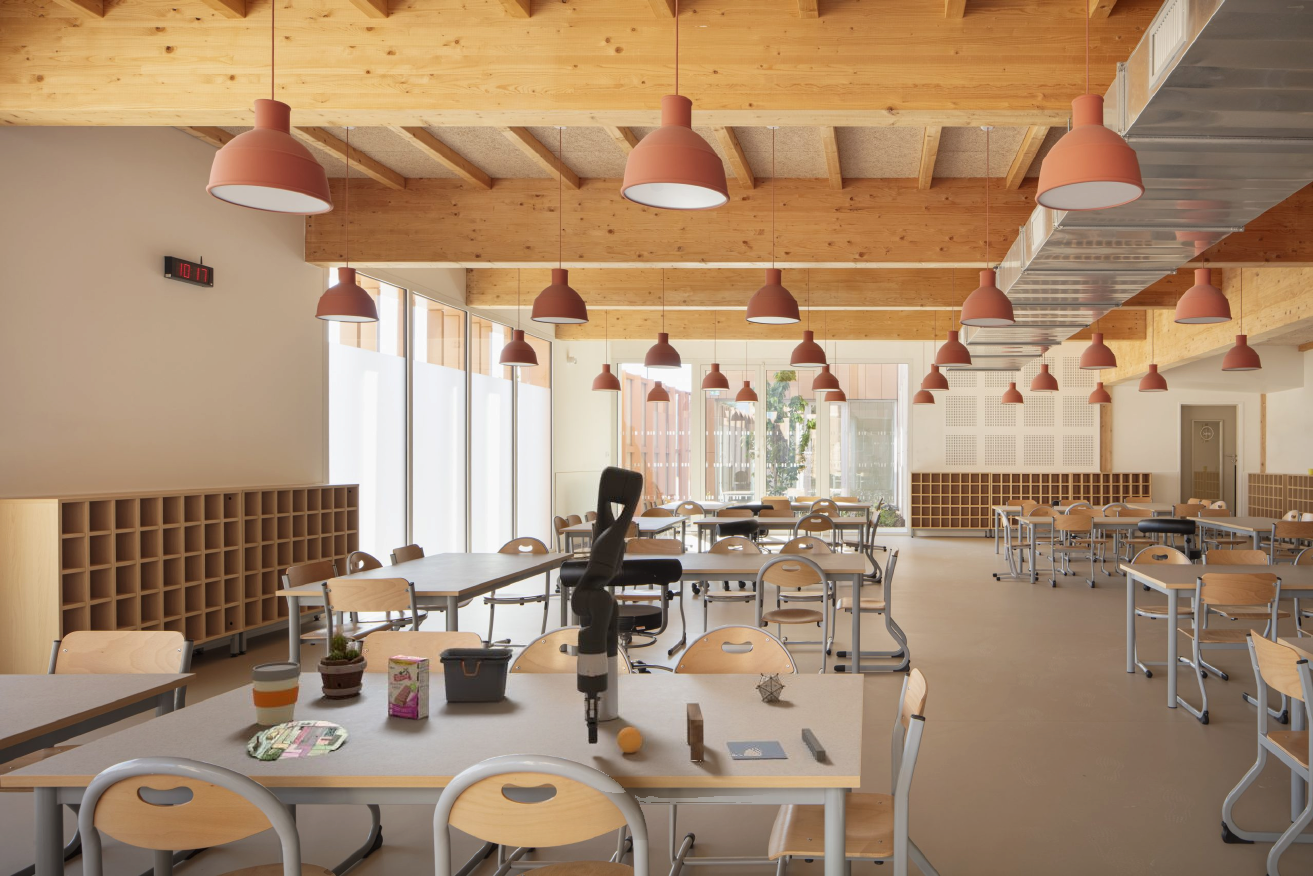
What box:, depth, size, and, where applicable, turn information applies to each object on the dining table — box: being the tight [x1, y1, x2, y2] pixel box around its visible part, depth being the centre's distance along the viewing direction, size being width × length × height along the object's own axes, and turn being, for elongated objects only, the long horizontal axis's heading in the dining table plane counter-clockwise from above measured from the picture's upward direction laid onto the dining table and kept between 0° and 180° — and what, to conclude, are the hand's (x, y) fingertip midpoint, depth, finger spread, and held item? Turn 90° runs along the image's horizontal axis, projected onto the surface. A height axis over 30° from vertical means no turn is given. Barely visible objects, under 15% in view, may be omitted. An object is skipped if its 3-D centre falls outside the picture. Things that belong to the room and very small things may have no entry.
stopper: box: [801, 728, 826, 762], centre depth 210 cm, size 2×18×2 cm, turn 2°
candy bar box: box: [387, 654, 430, 720], centre depth 244 cm, size 11×5×16 cm, turn 65°
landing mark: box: [726, 740, 788, 760], centre depth 210 cm, size 13×13×1 cm
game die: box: [755, 672, 786, 702], centre depth 257 cm, size 9×8×10 cm
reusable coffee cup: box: [251, 661, 302, 726], centre depth 240 cm, size 12×12×15 cm
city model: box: [247, 720, 349, 761], centre depth 216 cm, size 25×23×6 cm
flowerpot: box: [316, 631, 368, 700], centre depth 268 cm, size 14×15×20 cm
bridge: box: [686, 702, 705, 762], centre depth 210 cm, size 3×15×10 cm, turn 2°
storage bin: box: [438, 647, 514, 703], centre depth 261 cm, size 21×16×14 cm
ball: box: [616, 726, 643, 754], centre depth 209 cm, size 6×6×6 cm
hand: (593, 742), depth 209 cm, fingers closed
